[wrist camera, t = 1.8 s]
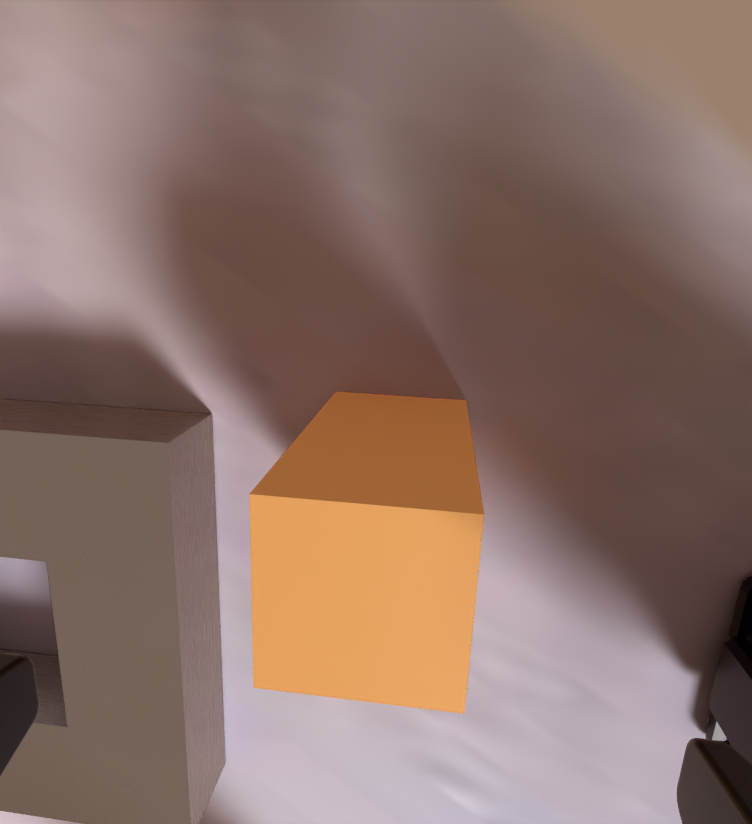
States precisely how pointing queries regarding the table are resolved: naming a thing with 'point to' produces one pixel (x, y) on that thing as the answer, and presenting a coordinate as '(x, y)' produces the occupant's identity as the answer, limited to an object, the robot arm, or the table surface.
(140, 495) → the grey square hole board
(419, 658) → the orange rectangular block
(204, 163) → the table surface
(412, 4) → the table surface
